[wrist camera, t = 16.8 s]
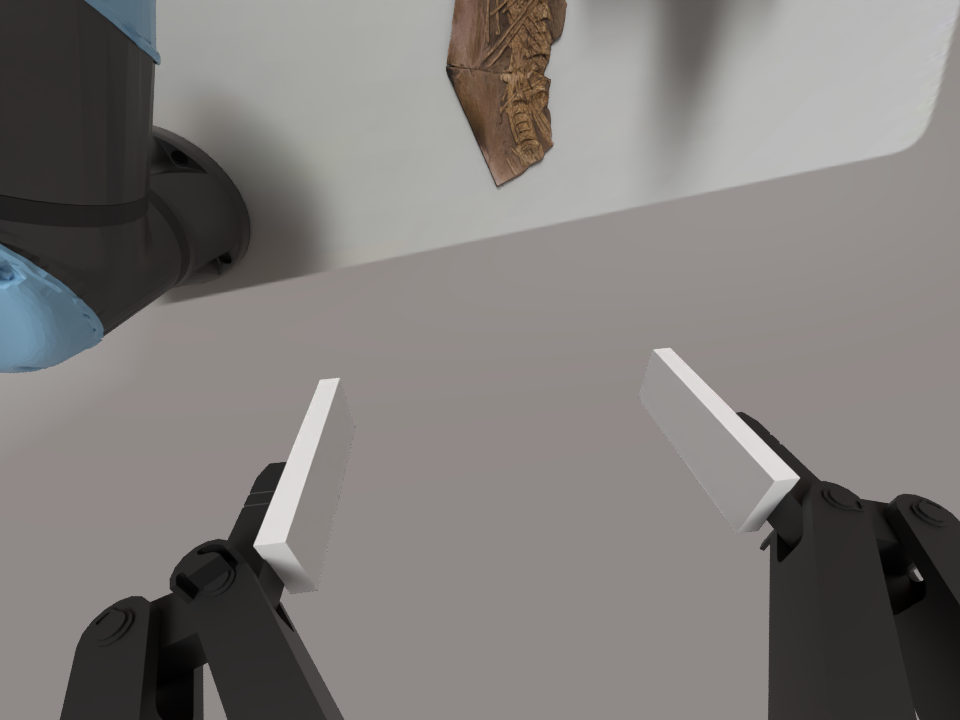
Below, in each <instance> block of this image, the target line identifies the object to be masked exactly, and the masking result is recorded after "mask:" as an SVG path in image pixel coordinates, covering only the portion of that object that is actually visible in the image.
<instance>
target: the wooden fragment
mask: <svg viewBox="0 0 960 720" xmlns="http://www.w3.org/2000/svg"><path fill="white" fill-rule="evenodd" d="M566 7H567V3H566V1H565V0H456V1H455V8H454V15H453V21H452V32H451V34H452V35H451V39H450V44H449V51H448V58H447V65H448V64H450V65H455V67H450V66H447V67H446V71H447V74H448V75H449V78H450V79H451V82H453V86H454V88H455V91H456V93H457V95H458V97H459V100H460V102H461V104H462V107H463V109H464V111H465V113H466V115H467V118H468V120H469V122H470V125H471V127H472V129H473V132H474V134H475V136H476V139H477V141H478V144H479V145H480V148H481V150H482V152H483V155H484V158H485V159H486V160H487V164H488V166H489V168H490V171H491V173H492V175H493V177H494V180H495V182H496V184H497V187H498V186H499V185H501V184H503V183H505V182H507V181H509V180H510V179H513V178H515V177H518V176H520V175H522V174H523V173H524V172H525V171H526V169H527V168H528V166H530V165H531V164H533V163H534V162H537V161H540V160H541V159H542V158H543V157H544V152H545V151H546V150H547V149H549V148H550V147H551V146H552V145H553V144H554V143H553V142H552V141H551V137H552V132H551V127H550V125H551V117H550V112H549V110H548V108H547V104H548V99H549V86H550V83H551V79H548V78H547V77H545V76H544V71H545V68H546V64H547V62H548V60H549V58H550V51H551V47H550V45H551V44H552V43H553V42H554V40H555V39H556V38H557V37H558V36H559V35H560V34H561V33H562V30H563V26H564V21H565V13H566Z"/></svg>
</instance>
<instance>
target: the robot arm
mask: <svg viewBox="0 0 960 720" xmlns="http://www.w3.org/2000/svg"><path fill="white" fill-rule="evenodd" d="M160 61H161V60H160V55H159V53H158V52H157V50H156V0H0V372H1V373H20V372H32V371H37V370H40V369H46V368H48V367H51V366H55V365H57V364H60V363H62V362H63V361H65V360H67V359H69V358H71V357H73V356H74V355H76V354H78V353H80V352H82V351H83V350H85V349H89V348H92V347H93V346H95V345H97V344H98V343H99V342H100V341H102V340H101V338H103V337H104V336H105V335H106V334H108V333H109V332H111V331H112V330H113V329H115V328H116V327H118V326H119V325H120V324H122V323H123V322H124V321H126V320H127V319H129V318H130V317H132V316H133V315H134V314H136V313H137V312H139V311H140V310H142V309H143V308H144V307H146V306H147V305H149V304H150V303H151V302H153V301H154V300H156V299H157V298H158V297H160V296H161V295H163V294H164V293H166V292H167V291H168V290H170V289H171V288H173V287H180V286H186V285H193V284H199V283H205V282H208V281H211V280H214V279H216V278H218V277H220V276H222V275H224V274H225V273H227V272H228V271H229V270H230V269H232V268H233V267H234V266H235V265H236V264H237V263H238V262H239V261H240V260H241V259H242V258H243V256H244V254H245V252H246V250H247V247H248V244H249V239H250V223H249V217H248V213H247V210H246V207H245V204H244V202H243V200H242V197H241V195H240V193H239V192H238V190H237V188H236V187H235V185H234V184H233V182H232V181H231V179H230V178H229V177H228V175H227V174H226V173H225V172H224V170H223V169H222V168H221V167H220V166H219V165H218V164H217V163H216V162H215V161H214V160H213V159H212V158H211V157H210V156H208V155H207V154H206V153H205V152H204V151H202V150H201V149H200V148H198V147H197V146H196V145H194V144H192V143H191V142H189V141H188V140H186V139H184V138H183V137H181V136H179V135H177V134H175V133H172V132H170V131H168V130H165V129H163V128H160V127H156V126H153V102H154V79H155V64H157V65H160ZM639 399H640V401H641V402H642V404H643V405H644V406H645V408H646V409H647V411H648V412H649V413H650V415H651V416H652V418H653V419H654V420H655V422H656V423H657V425H658V426H659V427H660V429H661V430H662V432H663V433H664V434H665V436H666V437H667V438H668V440H669V441H670V443H671V444H672V445H673V447H674V448H675V449H676V451H677V452H678V454H679V455H680V456H681V458H682V459H683V461H684V462H685V463H686V465H687V466H688V467H689V469H690V470H691V472H692V473H693V474H694V476H695V477H696V479H697V480H698V481H699V483H700V484H701V486H702V487H703V488H704V490H705V491H706V493H707V494H708V495H709V496H710V498H711V500H712V501H713V502H714V504H715V505H716V506H717V508H718V509H719V511H720V512H721V514H722V515H723V516H724V518H725V519H726V520H727V522H728V523H729V524H730V526H731V527H732V529H733V530H734V532H735V533H736V534H737V533H745V532H752V531H758V530H759V529H760V528H761V526H762V525H763V524H764V523H765V521H766V520H767V521H768V522H769V523H770V524H771V526H772V527H773V528H774V530H773V531H772V532H771V533H770V534H769V536H768V537H767V538H766V539H765V540H764V542H763V543H762V544H761V547H760V549H761V550H763V551H764V550H765V549H766V548H767V547H768V545H770V608H769V610H770V611H769V616H770V617H769V701H768V703H769V704H768V705H769V706H768V720H917V718H916V714H915V711H916V713H917V715H918V717H919V719H920V720H960V521H959V520H958V519H957V518H956V517H955V516H954V515H953V514H952V513H951V512H949V511H948V510H946V509H944V508H943V507H942V506H940V505H939V504H936V503H935V502H932V501H931V500H929V499H926V498H923V497H920V496H917V495H912V494H902V495H899V496H897V497H896V498H895V499H894V500H893V501H891V502H890V503H883V502H877V501H870V500H864V499H860V498H859V497H858V496H857V495H855V494H854V493H852V492H851V491H850V490H848V489H846V488H844V487H842V486H840V485H838V484H835V483H831V482H827V481H820V480H819V479H818V478H817V477H816V476H815V475H814V474H813V473H811V472H810V471H809V470H808V469H807V468H806V467H805V466H804V465H803V464H802V463H801V462H800V461H799V460H798V459H797V458H796V457H795V456H794V455H793V454H792V453H790V452H789V451H788V450H787V449H786V448H785V447H784V446H783V445H780V443H779V441H778V440H777V439H776V438H775V437H774V436H773V435H770V432H769V431H767V429H765V428H764V427H763V426H762V425H761V424H760V423H759V422H758V421H757V420H755V419H753V418H751V417H750V416H748V415H746V414H745V413H743V412H738V413H735V412H734V411H733V410H732V409H731V408H730V407H729V406H728V405H727V404H726V403H725V402H724V401H723V400H722V399H721V398H720V397H719V396H717V394H716V393H715V392H714V391H713V390H712V389H710V387H709V386H708V385H707V384H706V383H705V382H704V381H702V380H701V378H700V377H699V376H698V375H697V374H696V373H694V372H693V370H692V369H691V368H690V367H689V366H688V365H687V364H686V363H685V362H684V361H683V360H682V359H681V358H680V357H679V356H678V355H677V354H676V353H675V352H674V351H673V350H672V349H671V348H664V349H653V351H652V355H651V358H650V361H649V364H648V368H647V371H646V374H645V378H644V381H643V384H642V387H641V390H640V394H639ZM354 431H355V423H354V420H353V417H352V414H351V411H350V408H349V405H348V402H347V399H346V396H345V393H344V389H343V387H342V383H341V380H340V378H334V379H324V380H320V381H319V384H318V386H317V389H316V391H315V394H314V396H313V399H312V401H311V404H310V406H309V409H308V411H307V414H306V416H305V419H304V421H303V424H302V426H301V428H300V431H299V434H298V436H297V438H296V441H295V443H294V446H293V448H292V451H291V454H290V456H289V459H288V461H287V462H280V463H271V464H269V465H268V466H267V467H266V468H265V469H264V470H263V471H262V472H261V474H260V475H259V476H258V477H257V478H256V480H255V483H254V485H253V487H252V489H251V492H250V495H249V496H248V498H247V500H246V502H245V504H244V508H242V510H241V513H240V515H239V517H238V519H237V521H236V524H235V526H234V528H233V530H232V532H231V534H230V536H229V538H228V540H221V539H217V540H212V541H207V542H205V543H203V544H201V545H199V546H198V547H196V548H194V549H193V550H192V551H190V552H189V553H188V554H187V555H186V556H184V557H183V558H182V560H181V561H180V562H179V564H178V565H177V566H176V567H175V569H174V571H173V573H172V575H171V578H170V590H171V591H173V593H171V594H169V595H166V596H164V597H161V598H159V599H157V600H155V601H152V602H149V601H147V600H146V599H145V598H143V597H142V596H131V597H129V598H126V599H123V600H120V601H118V602H116V603H115V604H113V605H112V606H110V607H108V608H107V609H105V610H104V611H103V612H102V613H101V614H100V615H98V616H97V617H96V618H95V619H94V620H93V621H92V622H91V623H90V625H89V626H88V627H87V629H86V630H85V631H84V633H83V634H82V636H81V638H80V641H79V643H78V645H77V648H76V652H75V656H74V660H73V665H72V669H71V673H70V678H69V682H68V686H67V691H66V695H65V700H64V704H63V709H62V713H61V717H60V720H203V665H204V664H206V663H208V664H209V666H210V670H211V672H212V676H213V679H214V681H215V684H216V687H217V690H218V693H219V696H220V699H221V702H222V705H223V708H224V711H225V713H226V717H227V720H344V718H343V717H342V715H341V713H340V711H339V709H338V707H337V705H336V703H335V702H334V700H333V698H332V696H331V694H330V692H329V690H328V688H327V687H326V685H325V683H324V681H323V679H322V677H321V675H320V674H319V672H318V670H317V668H316V666H315V664H314V663H313V661H312V659H311V657H310V655H309V653H308V651H307V649H306V648H305V646H304V644H303V642H302V640H301V638H300V636H299V635H298V633H297V631H296V629H295V627H294V625H293V623H292V622H291V620H290V618H289V616H288V614H287V612H286V611H285V609H284V607H283V605H282V603H281V602H280V598H281V595H282V591H283V588H284V586H285V587H286V589H287V590H288V591H289V593H290V594H296V593H303V592H310V591H317V590H318V587H319V582H320V578H321V574H322V570H323V565H324V561H325V557H326V552H327V548H328V544H329V539H330V535H331V531H332V527H333V522H334V518H335V514H336V509H337V505H338V500H339V496H340V492H341V488H342V483H343V479H344V475H345V470H346V466H347V462H348V457H349V453H350V449H351V444H352V440H353V436H354ZM916 568H917V569H918V571H919V573H920V574H921V576H922V577H923V579H924V580H923V581H920V580H919V579H918V578H917V576H916V575H915V573H914V571H913V570H915V569H916Z"/></svg>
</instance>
